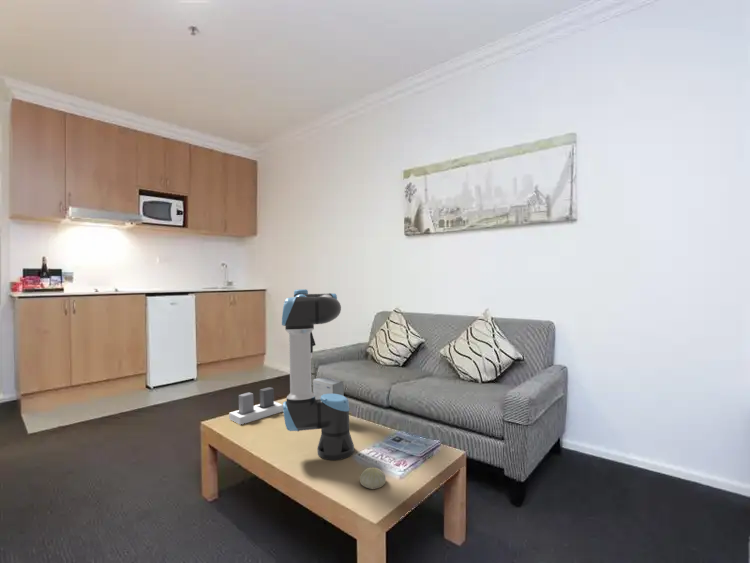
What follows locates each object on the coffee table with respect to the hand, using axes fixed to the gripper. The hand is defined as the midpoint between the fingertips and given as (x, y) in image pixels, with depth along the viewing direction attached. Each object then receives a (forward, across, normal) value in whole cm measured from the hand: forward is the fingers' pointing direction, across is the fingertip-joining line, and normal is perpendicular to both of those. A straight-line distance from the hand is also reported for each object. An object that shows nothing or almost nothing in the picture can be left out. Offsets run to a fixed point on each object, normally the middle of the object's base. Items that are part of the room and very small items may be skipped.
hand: (302, 357), depth 214 cm
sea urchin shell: (+29, -80, +29) cm, 90 cm away
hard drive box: (+29, -21, 0) cm, 36 cm away
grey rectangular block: (+28, +12, +15) cm, 34 cm away
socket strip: (+29, +12, +21) cm, 38 cm away
